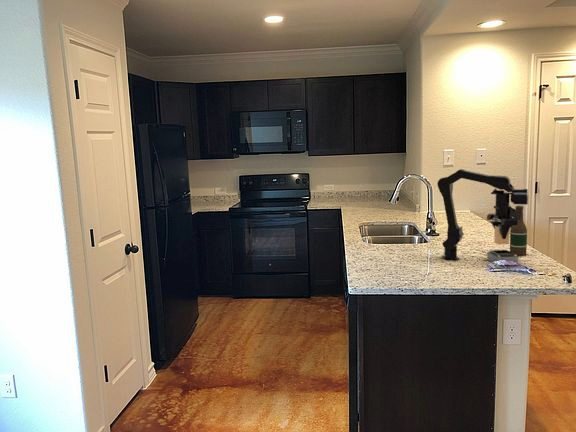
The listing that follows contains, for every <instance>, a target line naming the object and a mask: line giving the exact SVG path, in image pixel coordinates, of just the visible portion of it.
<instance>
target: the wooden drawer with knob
mask: <svg viewBox="0 0 576 432" xmlns="http://www.w3.org/2000/svg"><path fill="white" fill-rule="evenodd" d="M493 240H494V242H493V243H495V244H496V245H501V246H502V245H510V230H509V231H508V234H507V236H506V239H503V238H502V235H501V231H500V228H499V225H496V226H495V229H494V239H493Z"/></svg>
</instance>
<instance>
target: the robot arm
mask: <svg viewBox="0 0 576 432" xmlns="http://www.w3.org/2000/svg"><path fill="white" fill-rule="evenodd" d="M460 179H465V180H469V181H472V182H478V183H481V184H486V185H489V186H491V187H493V188H494V189H493V191H492V192H490V194H491V195H495V205H493V208H494V210H495V213H488V214H487V215H486V220H488V221H490V222H489V223H491V226H492V228H493V229H494V230H495V226H496V225H499V228H500V231H501V235H502V238H503V239H506V236H507V234H508V231H509V232H510V230H511V227H512V226H514V225H518V220H517V219H519V220H520V219H521V217H522V214H523V215H524V212H523V213H520V212H517V211H516V208H513V207H512V206H510V202H511V203H513V205H526V206H527V205H528V204H529V193H528V192H529V191H528V188H522V189H520V188H518V189H515V186H513V185H512V183H511V179H510V177H508V176H506V175H489V174H484V173H480V172H475V171H471V170H470V171H469V170H466V169H464V168H461V169H458V170H457V171H455V172H452V174H450V175H448V176H444V177H441V178H439V179H438V181H437V188H438V191H439V192H440V195H441V196H442V199H443V204H444V211H445V217H446V220H447V231H446V232H447V233H446V235H447V238H446V239H445V240H444V241H443V242H442V246H443V249H444V250H443V251H444V252H443V253H444V255H442V256H441V258H443V259H444V260H446V261H450V260H460V257H458V255H457V254H458V246H457V245H458V244H459V243H460V242H461V241H462V240H463V237H464V232H463V231H464V230H463V226H459V224H458V221H457V220H458V219H457V214H456V209H455V204H454V199H453V190H454V184H455V183H456V182H458V181H460Z"/></svg>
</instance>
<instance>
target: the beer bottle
mask: <svg viewBox="0 0 576 432" xmlns="http://www.w3.org/2000/svg"><path fill="white" fill-rule="evenodd" d="M514 209H516V211H517V212H520V213H523V214H522V217H521V219H520V220H519V219H517V220H518V225H514V226H512V227H510V229H509V251H510V252H512V253H515V255H517V256H518V257H523V256H527V242H528V241H527V240H528V239H527V238H528V229H527V226H526V224H525V222H524V206H523V205H515V208H514Z"/></svg>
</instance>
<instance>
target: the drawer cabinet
mask: <svg viewBox="0 0 576 432" xmlns="http://www.w3.org/2000/svg"><path fill="white" fill-rule="evenodd" d="M486 253H487V254H486V258H487V259H486V261H488V262H490V263H491V262H494V261H499V260H506V261H513V262H516V263H518V264H519V256H517V255H515V253H512V252H510V250H508V249H498V250H497V249H496V250H494V249H492V250H488V251H487V252H486Z"/></svg>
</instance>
